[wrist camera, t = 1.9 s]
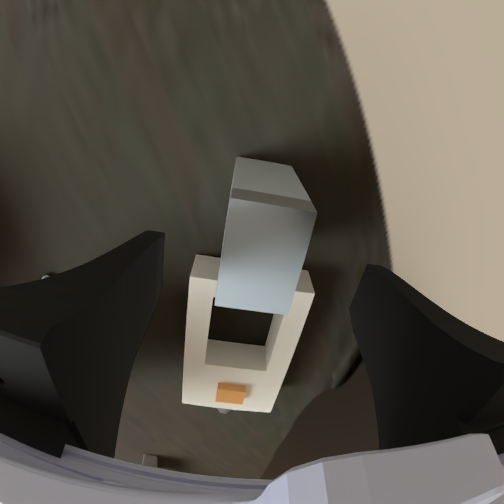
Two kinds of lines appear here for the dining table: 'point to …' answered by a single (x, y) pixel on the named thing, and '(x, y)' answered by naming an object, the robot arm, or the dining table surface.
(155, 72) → the dining table surface
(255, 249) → the plug
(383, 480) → the robot arm
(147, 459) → the lighter
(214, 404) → the white rectangular frame
